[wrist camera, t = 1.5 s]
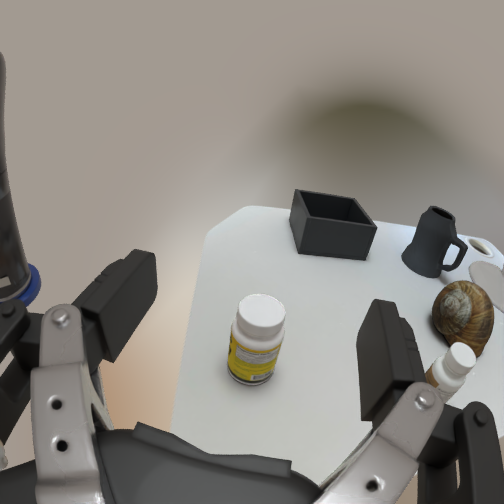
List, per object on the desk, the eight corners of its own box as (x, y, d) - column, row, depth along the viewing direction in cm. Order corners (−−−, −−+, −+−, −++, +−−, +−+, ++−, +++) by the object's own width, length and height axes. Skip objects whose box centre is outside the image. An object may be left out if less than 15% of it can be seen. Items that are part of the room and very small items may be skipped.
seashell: (414, 317, 38) (438, 272, 34) (446, 304, 42) (467, 264, 37) (461, 370, 30) (494, 327, 25) (488, 348, 33) (516, 309, 29)
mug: (392, 254, 53) (412, 201, 47) (417, 248, 57) (436, 201, 51) (436, 291, 44) (463, 235, 38) (457, 281, 48) (481, 231, 42)
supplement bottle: (238, 343, 32) (247, 283, 27) (279, 359, 30) (297, 301, 26) (218, 375, 28) (224, 316, 23) (263, 393, 27) (280, 337, 22)
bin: (298, 253, 49) (306, 217, 45) (288, 219, 59) (295, 189, 56) (365, 260, 50) (377, 227, 47) (346, 227, 60) (354, 198, 57)
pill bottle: (412, 379, 29) (446, 333, 25) (441, 388, 28) (477, 344, 23) (409, 408, 25) (448, 364, 21) (440, 417, 24) (482, 375, 20)
